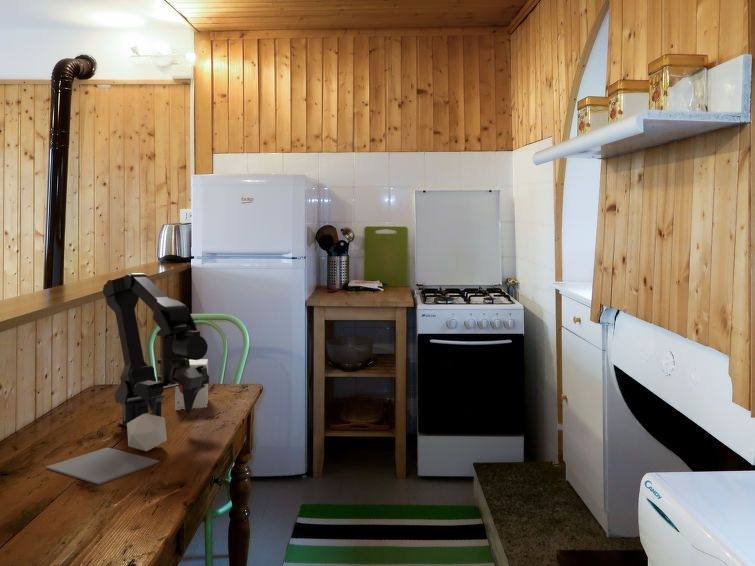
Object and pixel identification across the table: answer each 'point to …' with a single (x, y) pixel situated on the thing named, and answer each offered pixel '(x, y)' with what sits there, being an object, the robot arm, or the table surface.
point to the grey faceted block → (146, 432)
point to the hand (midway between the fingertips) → (173, 417)
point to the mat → (102, 465)
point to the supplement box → (201, 396)
